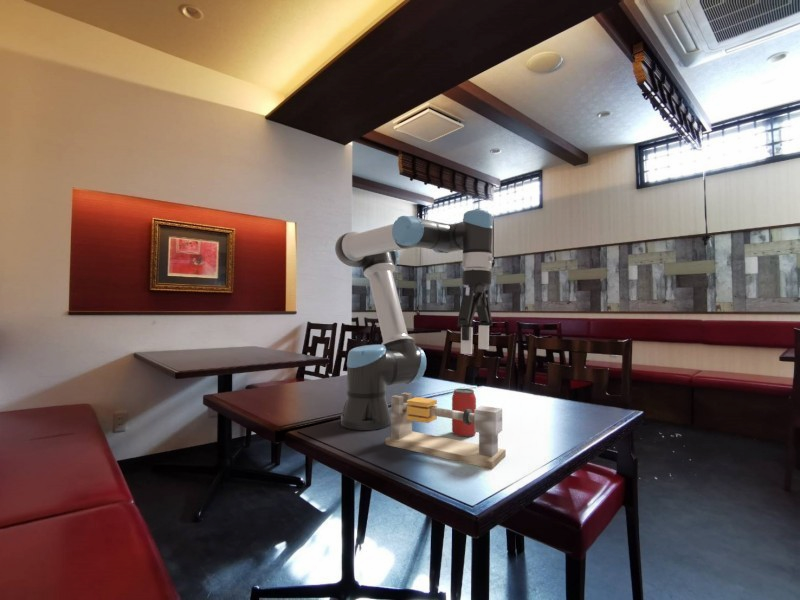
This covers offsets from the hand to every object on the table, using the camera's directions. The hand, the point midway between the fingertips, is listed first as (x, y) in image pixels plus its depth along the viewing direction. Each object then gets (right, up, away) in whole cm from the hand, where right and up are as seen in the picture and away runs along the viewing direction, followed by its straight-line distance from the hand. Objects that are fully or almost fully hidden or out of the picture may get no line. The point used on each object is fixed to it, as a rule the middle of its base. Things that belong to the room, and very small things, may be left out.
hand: (475, 351), depth 100 cm
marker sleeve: (-14, -17, -3) cm, 22 cm away
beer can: (-2, -24, +6) cm, 25 cm away
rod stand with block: (-9, -23, -7) cm, 26 cm away
